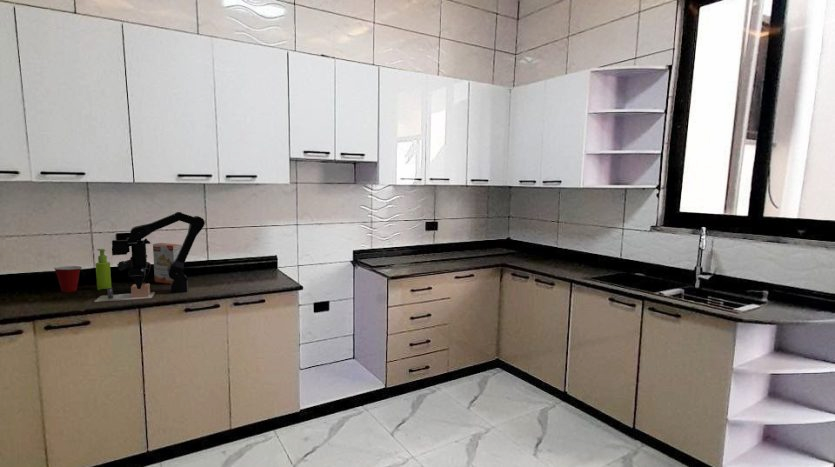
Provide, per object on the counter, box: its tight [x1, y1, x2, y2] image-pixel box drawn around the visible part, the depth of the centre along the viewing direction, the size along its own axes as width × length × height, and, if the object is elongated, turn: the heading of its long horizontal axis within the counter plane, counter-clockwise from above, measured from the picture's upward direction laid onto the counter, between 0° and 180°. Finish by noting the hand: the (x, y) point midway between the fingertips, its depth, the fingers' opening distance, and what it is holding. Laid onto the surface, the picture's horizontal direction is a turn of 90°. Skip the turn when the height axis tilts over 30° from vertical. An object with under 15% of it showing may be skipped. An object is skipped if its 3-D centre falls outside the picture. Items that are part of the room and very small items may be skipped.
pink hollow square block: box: [130, 282, 151, 298], centre depth 206 cm, size 7×6×5 cm
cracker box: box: [152, 242, 183, 285], centre depth 235 cm, size 14×6×21 cm, turn 72°
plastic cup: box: [53, 265, 83, 293], centre depth 215 cm, size 11×11×12 cm
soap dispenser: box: [95, 248, 112, 291], centre depth 220 cm, size 6×7×20 cm
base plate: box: [94, 291, 156, 303], centre depth 204 cm, size 22×11×1 cm, turn 113°
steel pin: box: [106, 287, 114, 298], centre depth 201 cm, size 2×2×4 cm
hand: (140, 286), depth 206 cm, fingers open, 9 cm apart
